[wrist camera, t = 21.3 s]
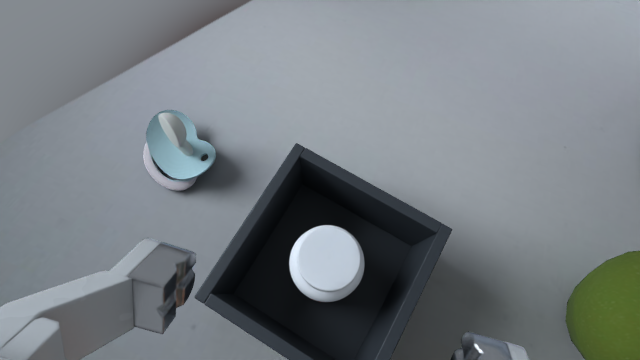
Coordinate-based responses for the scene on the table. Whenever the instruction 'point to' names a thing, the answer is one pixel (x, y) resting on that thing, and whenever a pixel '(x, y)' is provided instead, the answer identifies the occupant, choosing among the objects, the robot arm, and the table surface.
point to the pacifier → (175, 150)
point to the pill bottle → (326, 263)
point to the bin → (275, 278)
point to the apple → (607, 310)
